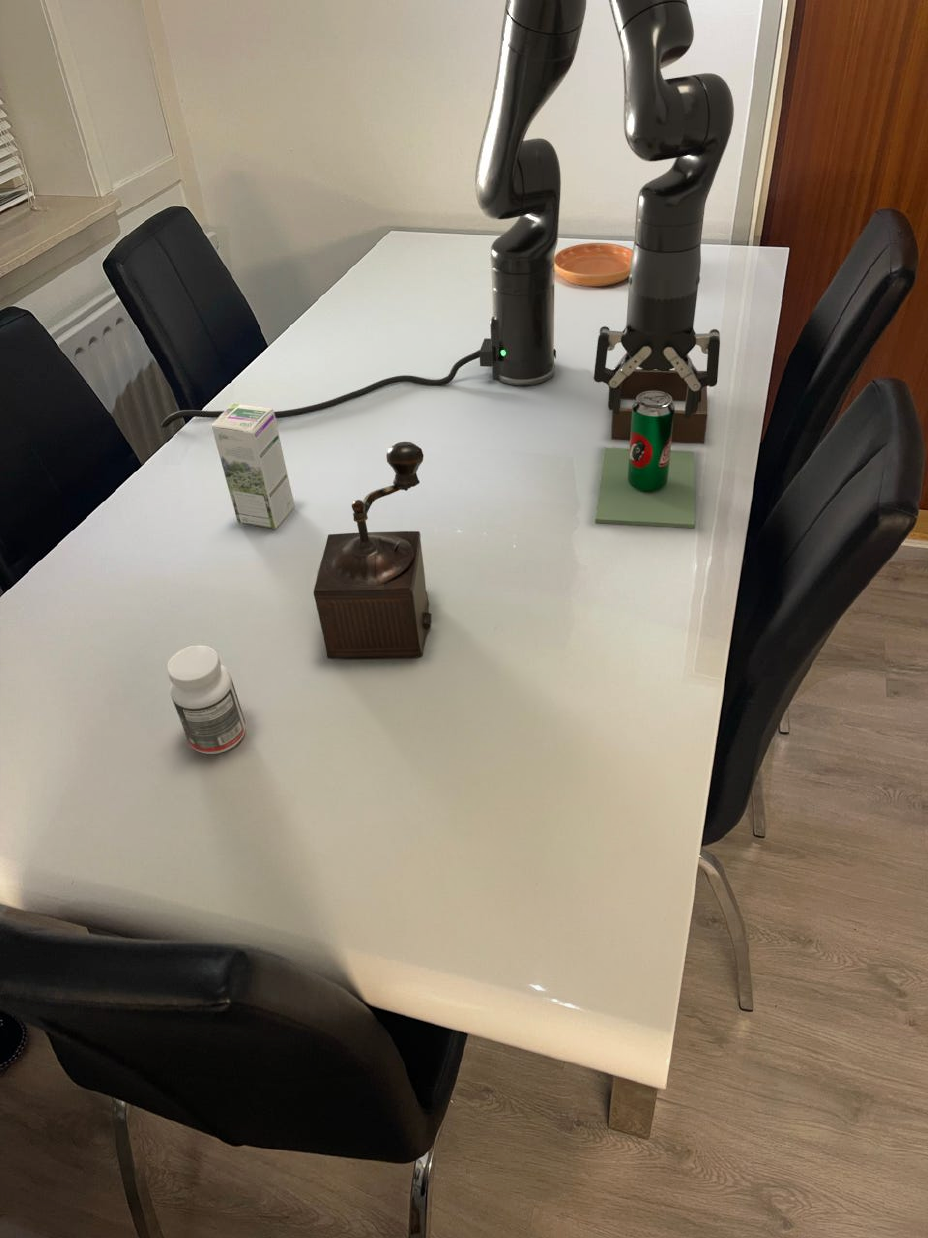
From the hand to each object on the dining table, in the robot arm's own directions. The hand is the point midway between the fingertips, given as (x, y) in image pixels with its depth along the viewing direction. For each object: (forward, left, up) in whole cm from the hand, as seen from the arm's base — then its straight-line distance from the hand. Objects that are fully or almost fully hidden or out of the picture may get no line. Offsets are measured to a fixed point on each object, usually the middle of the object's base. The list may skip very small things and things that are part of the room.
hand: (651, 413), depth 114 cm
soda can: (0, 0, -10) cm, 10 cm away
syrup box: (-48, -11, -11) cm, 50 cm away
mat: (0, 0, -11) cm, 11 cm away
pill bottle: (-40, -48, -11) cm, 63 cm away
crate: (+1, +18, -11) cm, 21 cm away
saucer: (-12, +72, -11) cm, 74 cm away
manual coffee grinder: (-28, -28, -11) cm, 41 cm away
